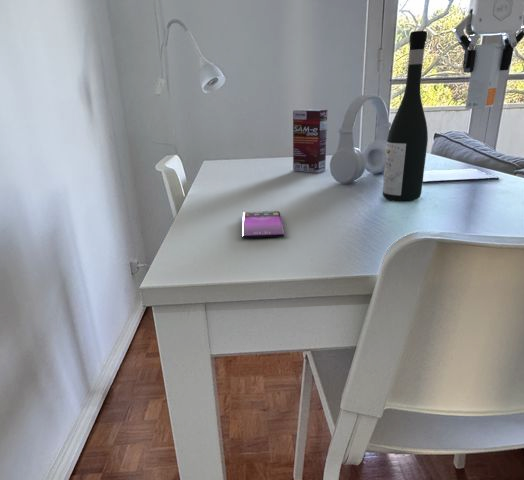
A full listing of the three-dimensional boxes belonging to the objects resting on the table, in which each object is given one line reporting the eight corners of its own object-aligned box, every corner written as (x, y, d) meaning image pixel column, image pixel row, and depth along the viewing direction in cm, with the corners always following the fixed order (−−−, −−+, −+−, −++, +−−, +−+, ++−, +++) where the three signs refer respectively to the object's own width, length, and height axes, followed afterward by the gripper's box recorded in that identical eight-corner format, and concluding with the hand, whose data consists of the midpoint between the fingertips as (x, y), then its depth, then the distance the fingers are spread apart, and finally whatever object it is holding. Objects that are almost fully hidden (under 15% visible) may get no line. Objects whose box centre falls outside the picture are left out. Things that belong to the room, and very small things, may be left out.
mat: (473, 170, 127) (473, 168, 127) (498, 179, 115) (499, 177, 115) (393, 174, 127) (393, 172, 126) (410, 184, 115) (410, 182, 114)
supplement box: (292, 171, 137) (291, 110, 129) (300, 168, 140) (300, 109, 132) (318, 173, 133) (319, 110, 125) (326, 170, 136) (328, 109, 128)
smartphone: (279, 215, 92) (279, 210, 92) (284, 237, 79) (284, 232, 79) (242, 217, 92) (242, 212, 92) (241, 239, 79) (241, 233, 79)
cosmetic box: (484, 109, 101) (495, 43, 95) (464, 109, 104) (474, 44, 98) (494, 107, 105) (505, 43, 99) (474, 107, 108) (484, 45, 102)
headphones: (356, 186, 115) (361, 96, 105) (327, 182, 120) (330, 97, 110) (395, 173, 128) (403, 92, 118) (368, 171, 133) (374, 93, 123)
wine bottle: (390, 204, 97) (407, 29, 83) (376, 196, 104) (389, 34, 89) (427, 201, 98) (450, 28, 84) (410, 193, 105) (429, 32, 90)
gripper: (467, -36, 88) (453, 73, 97) (557, -41, 89) (534, 68, 98) (450, -28, 95) (438, 74, 104) (534, -32, 96) (515, 69, 105)
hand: (485, 70), depth 101 cm, fingers closed on cosmetic box, 7 cm apart
